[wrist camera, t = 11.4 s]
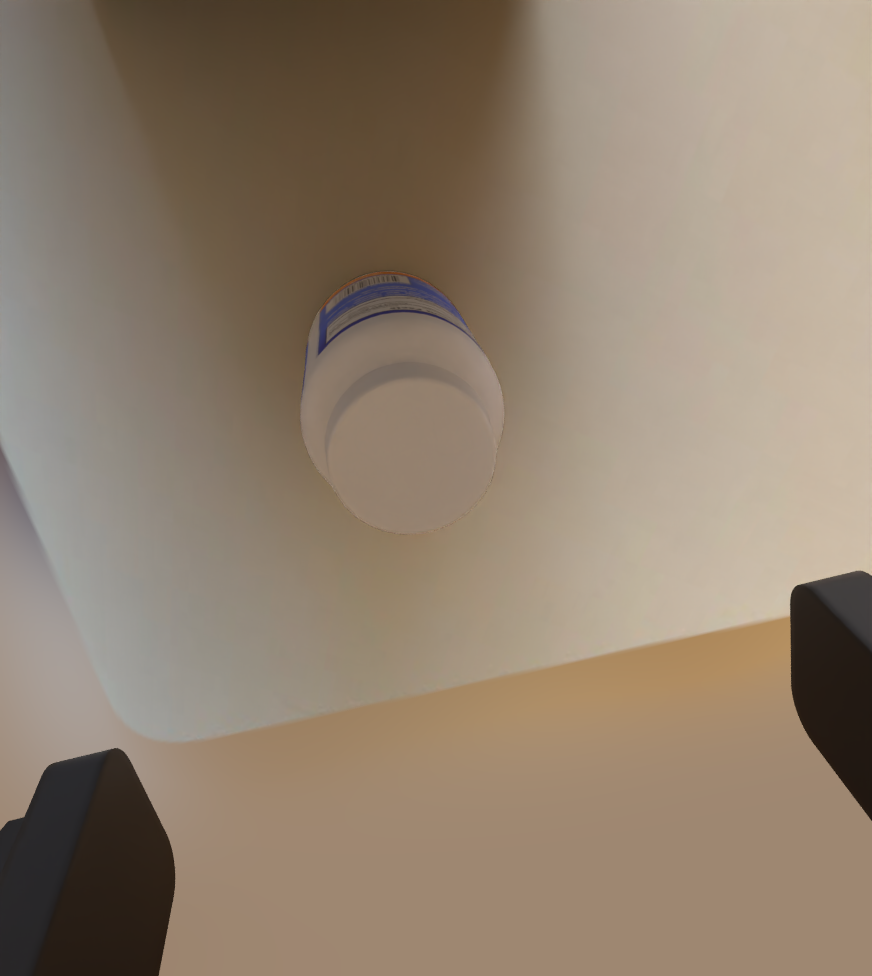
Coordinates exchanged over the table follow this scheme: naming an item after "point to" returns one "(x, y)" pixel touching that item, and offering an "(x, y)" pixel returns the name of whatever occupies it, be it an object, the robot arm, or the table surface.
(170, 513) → the table surface
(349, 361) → the pill bottle
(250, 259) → the table surface
